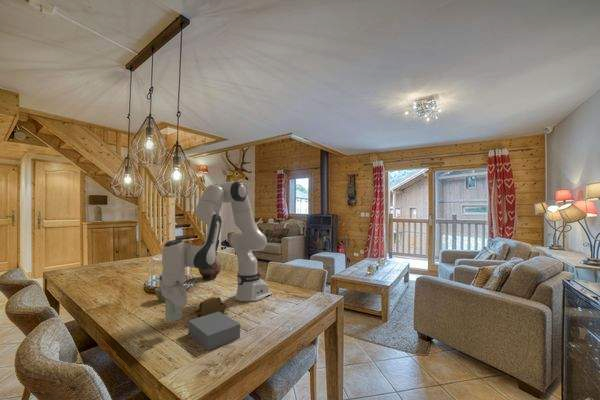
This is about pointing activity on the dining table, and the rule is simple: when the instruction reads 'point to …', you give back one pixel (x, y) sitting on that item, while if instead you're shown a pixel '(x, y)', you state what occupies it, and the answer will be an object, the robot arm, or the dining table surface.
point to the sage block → (171, 312)
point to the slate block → (213, 330)
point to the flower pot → (159, 294)
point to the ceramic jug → (211, 269)
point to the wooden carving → (210, 307)
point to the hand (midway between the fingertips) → (173, 311)
